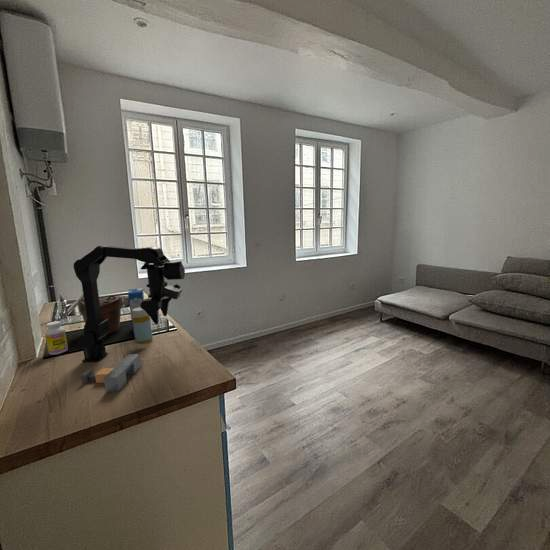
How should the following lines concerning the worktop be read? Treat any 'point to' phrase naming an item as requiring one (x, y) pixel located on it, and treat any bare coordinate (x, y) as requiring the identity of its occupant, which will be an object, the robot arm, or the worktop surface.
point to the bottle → (141, 326)
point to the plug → (95, 375)
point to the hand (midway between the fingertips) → (161, 319)
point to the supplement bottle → (56, 338)
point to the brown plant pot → (107, 311)
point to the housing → (122, 373)
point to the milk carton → (135, 300)
